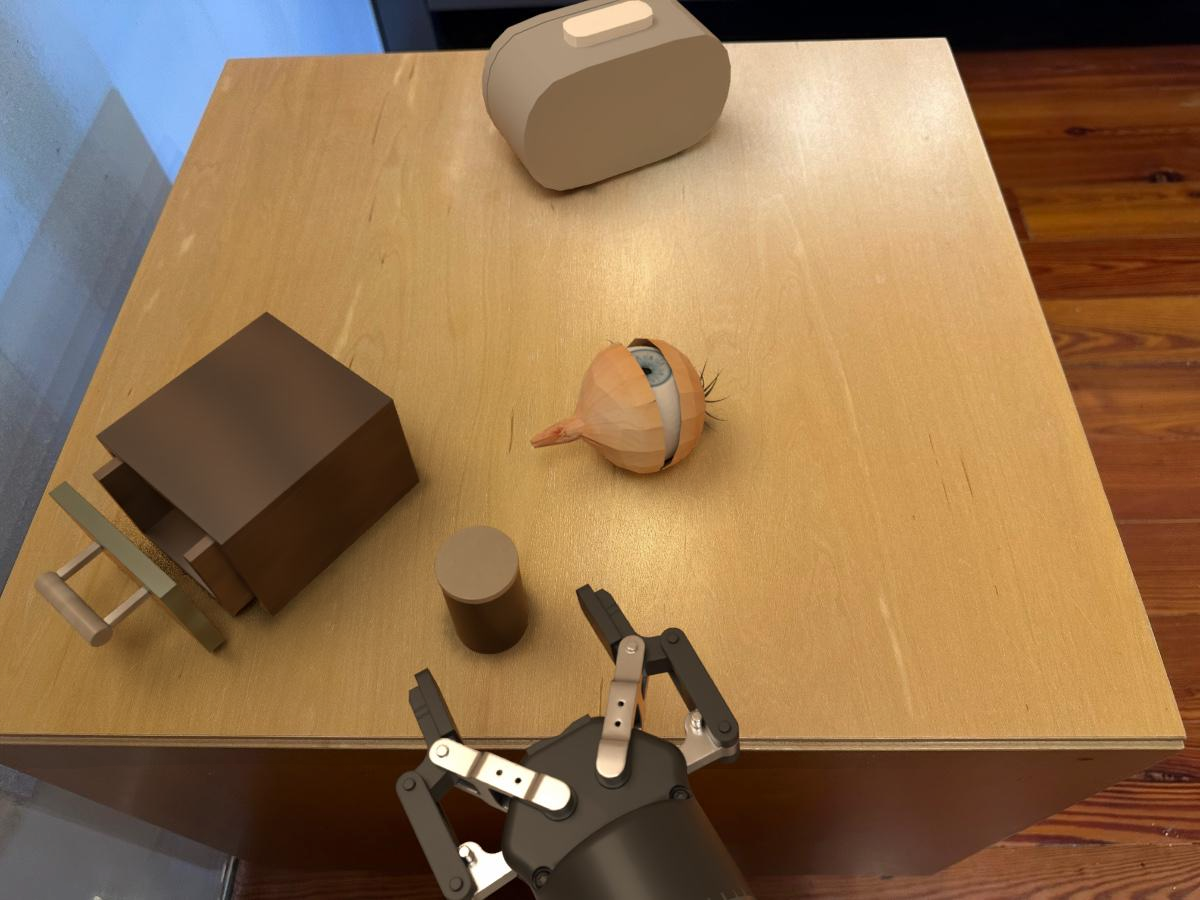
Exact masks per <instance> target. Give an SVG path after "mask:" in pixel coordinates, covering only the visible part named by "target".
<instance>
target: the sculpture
mask: <svg viewBox="0 0 1200 900" xmlns="http://www.w3.org/2000/svg"><path fill="white" fill-rule="evenodd" d="M607 342H610V343H611V344H610V345H608V346H606V347H604V348H603V349H600V350H599V351H598V352H597V354H596V355H595V357H594V358H593V359H592V361H591V363H590V365H589V366H588V368H586V370H585V372H584V375H583V379H582V382H581V386H580V390H579V394H578V398H577V401H576V405H575V409H574V414H573V415H572V416H570V417H568V418H565V419H562V420H560V421H558V422H556V423H554V424H552V425H551V426H549V427H547V428H546V429H544V430H543V431H541V432H540V433H537V434H536V435H534V437H532V438H531V439H530V440H529V442H530V444H531V446H532V448H534V449H539V448H545V447H552V446H558V445H563V444H569V443H571V442H576V441H578V440H583V441H584V442H585V443H587V445H589V446H590V447H591V448H593V449H594V450H595V451H597V452H598V453H599V454H600V455H602V456H603V457H604V458H605V459H606V460H608V461H610V462H611V463H613V464H614V465H615V466H616V467H619V468H622V469H625V470H628V471H631V472H634V473H637V474H641V475H642V474H649V473H655V472H656V473H657V472H659V471H663V470H665V469H667V468H670V467H671V466H673V465H676V464H678V463H679V462H680V461H681V460H683V459H684V458H685V457H687V455H688V454H689V453H690V452H691V451H692V449H693V448H694V447H695V446H696V445H697V443H698V440H700V439H699V438H700V437H701V434H702V433H703V431H704V425H706V426H707V427H708V428H710V429H711V430H713V431H714V432H716V430H715V429H714V428H712V427H711V426H710V425H709V424H708V423H707V422H706V421H705V420H706V415H707V416H708V417H710V418H712V419H713V420H716V421H717V420H718V421H722V422H727V420H726V419H721V418H717V417H715V416H713V415H711V414H710V413H709V412H708V411H707V409H706V408H707V404H711V403H712V404H714V403H718V402H721V401H724V400H726V399H727V398H729V397H731V396H732V395H731V394H730V395H729V396H726V397H724V398H722V399H717V400H706V398H707V397H708V396H709V395H710V394H711V392H712V391H713V389H714V387H715V385H716V383H717V380H718V377H719V376H720V375H721V373H722V371H723V369H724V368H722V369H721V370H720V369H717V375H716V376H715V378H714V379H713V380H712V381H710V383H709V384H708V385H707V386H706V387H705V380H704V377H703V375H704V372H705V368H706V365H707V362H708V359H709V357H707V359H706V361H705V363H704V366H703V368H702V372H701V371H700V369H699V372H700V375H699V374H698V371H697V370H696V366H694V364H693V363H692V361H691V359H690V358H689V356H688V355H686V354H685V353H683V352H682V351H681V350H679V349H678V348H677V347H675V346H673V345H672V344H670V343H669V342H667V341H666V340H663V339H655V338H653V339H652V338H648V337H647V338H645V337H644V338H640V337H639V338H638V337H635V338H634V339H632V341H631V342H630V343H629V344H628V345H627V347H626V346H624V344H622V342H621V343H620V342H619V341H615V342H613V341H611V340H609V339H607ZM719 370H720V372H719ZM706 403H707V404H706Z"/></svg>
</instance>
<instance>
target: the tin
mask: <svg viewBox="0 0 1200 900" xmlns="http://www.w3.org/2000/svg"><path fill="white" fill-rule="evenodd" d="M434 573H435V577H436V580H437V583H438V585H439V587H440V589H441V592H442V595H443V598H444V601H445V603H446V606H447V609H448V612H449V615H450V618H451V621H452V623H453V626H454V629H455V632H456V635H457V638H458V639H459V641H460V642H461V643H462V644H463V645H464V646H465V647H466V648H468V649H469V650H471V651H472V652H476V653H478V654H483V655H495V654H500V653H503V652H505V651H508V650H509V649H511V648H513V647H514V646H515V645H516V644H518V643H519V642H520V640H521V639H522V637H524V635H525V633H526V631H527V628H528V625H529V610H528V606H527V605H528V604H527V600H526V596H525V595H526V594H525V590H524V584H523V578H522V573H521V568H520V559H519V551H518V549H517V547H516V544H515V542H514V541H513V540H512V539H511V537H510V536H509V535H507V534H506V533H505V532H504V531H502V530H500V529H498V528H495V527H492V526H489V525H472V526H467V527H463V528H462V529H459V530H457V531H455V532H454V533H452V534H451V535H448V537H447V538H446V539H445V540H444V541H443V542H442V544H441V545H440V546H439V548H438V550H437V552H436V555H435V559H434Z"/></svg>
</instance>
